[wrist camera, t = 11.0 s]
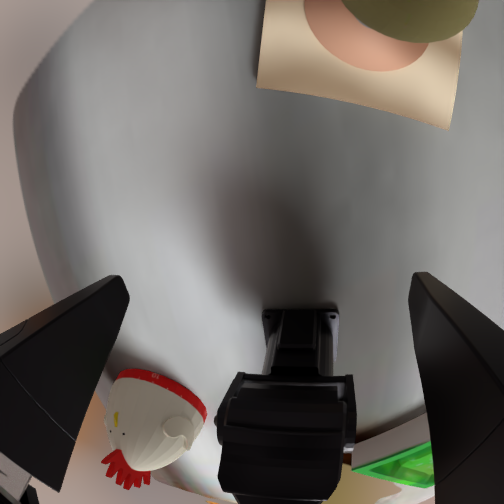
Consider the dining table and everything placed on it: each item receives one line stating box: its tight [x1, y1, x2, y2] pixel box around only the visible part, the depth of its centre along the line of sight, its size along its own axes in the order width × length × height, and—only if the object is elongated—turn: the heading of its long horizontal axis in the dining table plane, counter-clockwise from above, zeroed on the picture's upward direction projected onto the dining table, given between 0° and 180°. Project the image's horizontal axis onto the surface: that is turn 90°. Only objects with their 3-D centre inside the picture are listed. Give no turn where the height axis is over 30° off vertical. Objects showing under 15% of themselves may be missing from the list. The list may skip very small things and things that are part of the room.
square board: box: [256, 0, 463, 131], centre depth 13 cm, size 12×12×2 cm
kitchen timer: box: [101, 369, 207, 490], centre depth 33 cm, size 14×14×15 cm
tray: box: [352, 412, 435, 488], centre depth 32 cm, size 25×25×5 cm
